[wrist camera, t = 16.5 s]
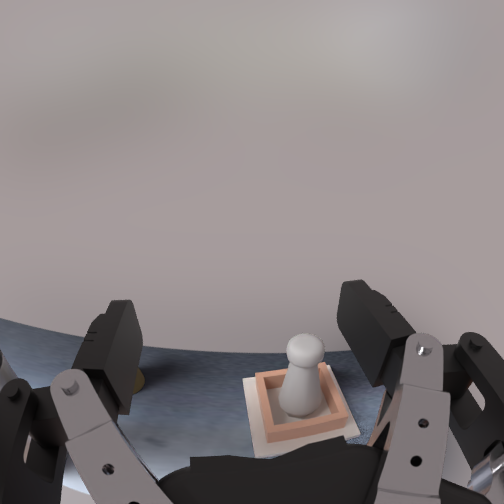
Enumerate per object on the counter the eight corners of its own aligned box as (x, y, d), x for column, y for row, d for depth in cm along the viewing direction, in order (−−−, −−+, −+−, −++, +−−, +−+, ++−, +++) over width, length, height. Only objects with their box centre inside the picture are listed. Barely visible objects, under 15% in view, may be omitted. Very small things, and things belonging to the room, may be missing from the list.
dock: (255, 458, 29) (254, 447, 27) (242, 381, 41) (241, 365, 40) (359, 436, 30) (366, 422, 29) (328, 368, 43) (331, 352, 41)
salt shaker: (318, 392, 38) (331, 326, 32) (319, 424, 32) (335, 360, 27) (279, 391, 38) (282, 325, 33) (275, 422, 33) (278, 359, 28)
